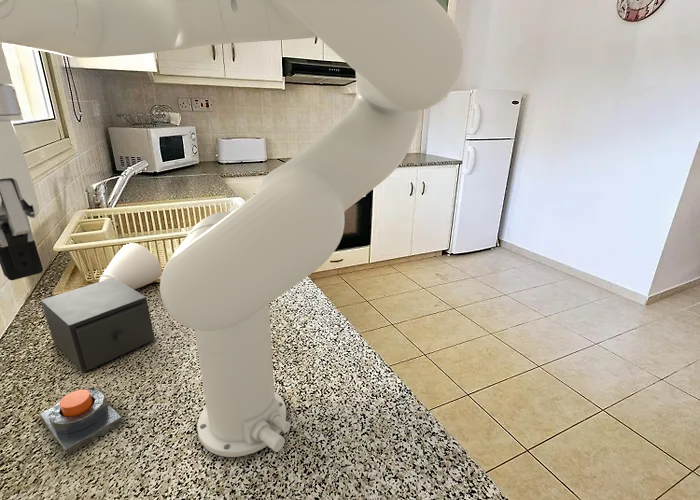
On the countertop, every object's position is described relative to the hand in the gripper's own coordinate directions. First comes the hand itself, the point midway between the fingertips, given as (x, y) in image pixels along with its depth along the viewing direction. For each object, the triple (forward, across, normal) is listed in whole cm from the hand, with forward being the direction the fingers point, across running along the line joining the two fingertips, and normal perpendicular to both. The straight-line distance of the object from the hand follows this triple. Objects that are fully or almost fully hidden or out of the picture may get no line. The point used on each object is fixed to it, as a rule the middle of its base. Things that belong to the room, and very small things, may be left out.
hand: (24, 274), depth 43 cm
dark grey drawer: (+24, -19, +12) cm, 33 cm away
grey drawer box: (+25, -21, +12) cm, 35 cm away
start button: (+22, -3, +1) cm, 23 cm away
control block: (+25, -2, +2) cm, 25 cm away
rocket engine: (+25, -40, +22) cm, 52 cm away
